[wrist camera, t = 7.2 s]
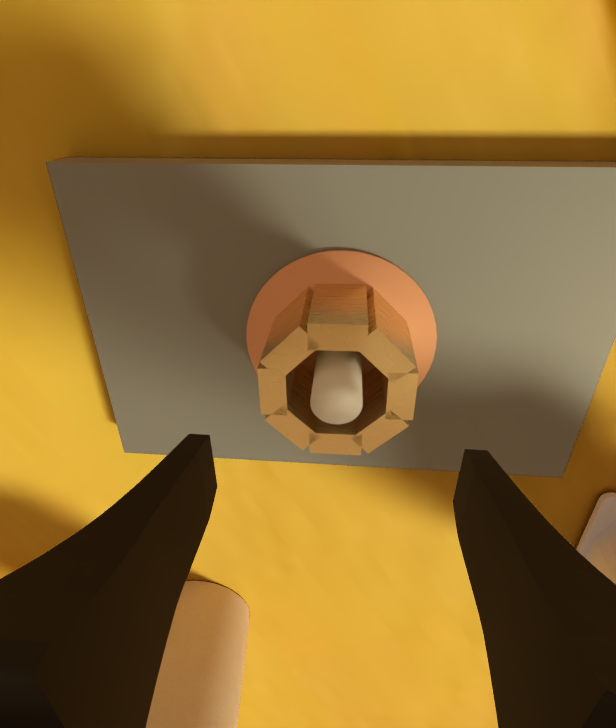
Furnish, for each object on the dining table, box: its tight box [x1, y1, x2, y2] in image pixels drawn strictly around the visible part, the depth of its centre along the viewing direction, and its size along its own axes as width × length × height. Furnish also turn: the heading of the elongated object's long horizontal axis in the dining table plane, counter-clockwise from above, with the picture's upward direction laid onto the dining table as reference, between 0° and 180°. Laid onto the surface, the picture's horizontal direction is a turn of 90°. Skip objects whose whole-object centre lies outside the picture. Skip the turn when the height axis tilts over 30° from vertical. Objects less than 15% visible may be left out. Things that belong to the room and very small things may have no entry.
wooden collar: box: [257, 284, 419, 455], centre depth 18 cm, size 6×6×4 cm
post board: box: [46, 157, 616, 478], centre depth 19 cm, size 22×14×6 cm, turn 90°
